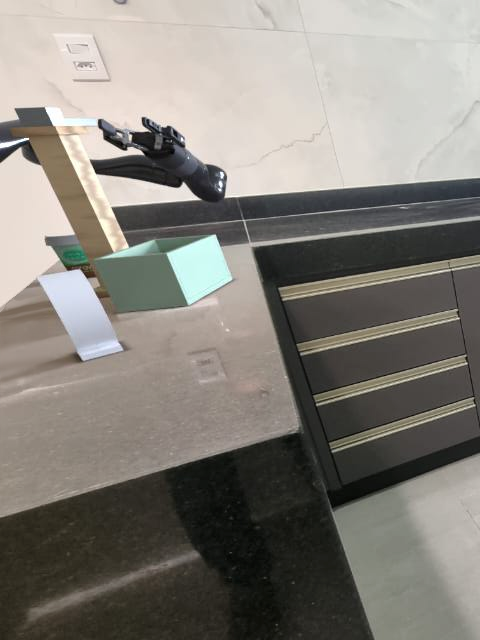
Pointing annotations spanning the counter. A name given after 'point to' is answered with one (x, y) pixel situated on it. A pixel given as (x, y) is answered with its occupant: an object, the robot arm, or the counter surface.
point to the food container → (70, 253)
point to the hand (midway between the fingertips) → (121, 121)
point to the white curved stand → (81, 313)
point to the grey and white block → (49, 118)
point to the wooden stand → (77, 190)
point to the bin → (163, 272)
